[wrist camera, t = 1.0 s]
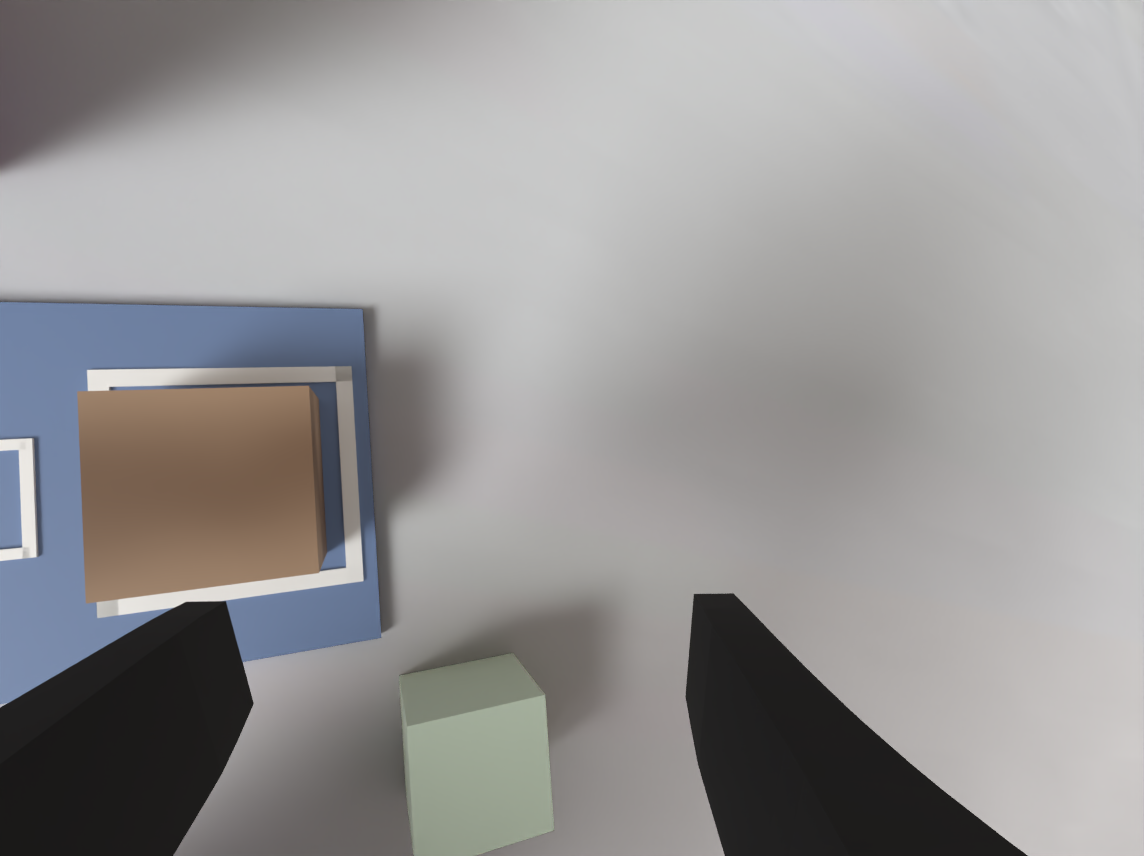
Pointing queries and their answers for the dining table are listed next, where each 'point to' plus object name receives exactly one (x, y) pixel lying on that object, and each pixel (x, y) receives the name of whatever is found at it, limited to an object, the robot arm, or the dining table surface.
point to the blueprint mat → (171, 361)
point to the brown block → (199, 488)
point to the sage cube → (475, 757)
